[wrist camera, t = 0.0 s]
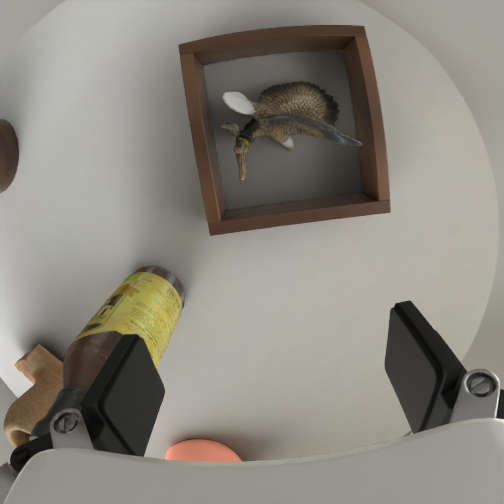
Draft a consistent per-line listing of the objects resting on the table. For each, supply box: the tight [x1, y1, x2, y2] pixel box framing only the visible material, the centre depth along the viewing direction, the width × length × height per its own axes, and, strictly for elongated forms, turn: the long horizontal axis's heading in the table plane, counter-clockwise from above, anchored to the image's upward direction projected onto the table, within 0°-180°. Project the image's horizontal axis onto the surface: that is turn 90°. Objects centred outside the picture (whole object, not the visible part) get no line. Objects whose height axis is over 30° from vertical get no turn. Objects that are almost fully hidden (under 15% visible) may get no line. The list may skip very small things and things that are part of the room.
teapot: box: [165, 439, 242, 462], centre depth 35 cm, size 12×18×10 cm
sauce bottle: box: [29, 266, 184, 441], centre depth 20 cm, size 6×6×20 cm
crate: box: [179, 25, 391, 236], centre depth 21 cm, size 15×14×4 cm
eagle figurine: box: [221, 82, 362, 181], centre depth 20 cm, size 8×7×9 cm
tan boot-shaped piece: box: [4, 344, 63, 449], centre depth 27 cm, size 15×12×15 cm
